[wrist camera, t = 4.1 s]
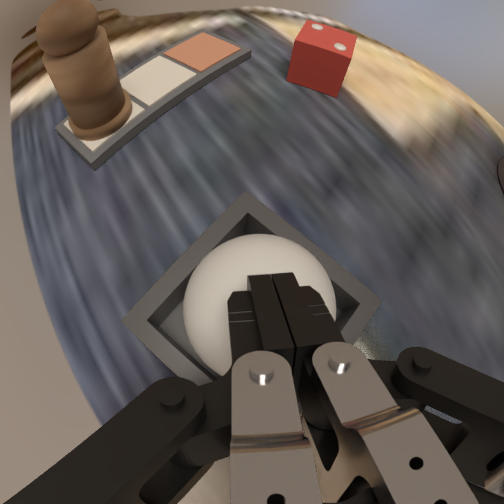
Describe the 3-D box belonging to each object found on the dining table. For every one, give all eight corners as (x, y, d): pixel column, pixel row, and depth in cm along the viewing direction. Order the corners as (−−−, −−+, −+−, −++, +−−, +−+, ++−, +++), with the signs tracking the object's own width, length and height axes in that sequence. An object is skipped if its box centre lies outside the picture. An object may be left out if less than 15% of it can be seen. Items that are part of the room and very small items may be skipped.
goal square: (202, 33, 27) (202, 32, 27) (240, 49, 26) (240, 48, 26) (163, 54, 25) (163, 53, 25) (200, 72, 25) (200, 71, 24)
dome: (246, 241, 20) (256, 175, 13) (333, 312, 19) (391, 283, 11) (169, 325, 18) (131, 303, 10) (260, 402, 16) (282, 432, 9)
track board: (203, 36, 28) (203, 27, 27) (250, 57, 27) (251, 48, 26) (58, 134, 23) (53, 126, 22) (95, 170, 22) (90, 162, 20)
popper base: (242, 216, 21) (245, 190, 18) (358, 310, 20) (382, 300, 16) (139, 327, 18) (121, 320, 15) (262, 432, 17) (269, 448, 13)
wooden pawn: (110, 86, 23) (78, -20, 12) (145, 109, 22) (116, -16, 11) (62, 123, 22) (11, 21, 11) (92, 152, 21) (33, 31, 10)
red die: (298, 56, 28) (307, 18, 23) (343, 71, 28) (357, 35, 23) (286, 80, 26) (295, 38, 21) (336, 97, 26) (351, 57, 21)
